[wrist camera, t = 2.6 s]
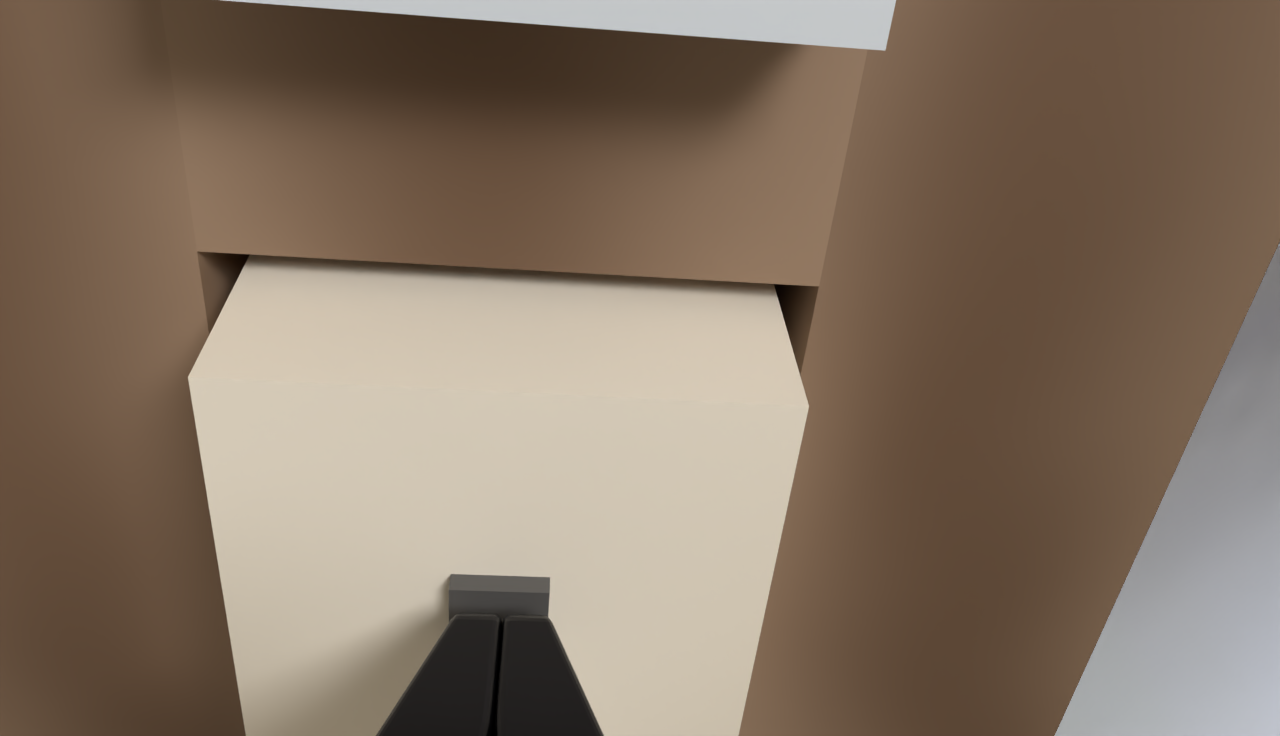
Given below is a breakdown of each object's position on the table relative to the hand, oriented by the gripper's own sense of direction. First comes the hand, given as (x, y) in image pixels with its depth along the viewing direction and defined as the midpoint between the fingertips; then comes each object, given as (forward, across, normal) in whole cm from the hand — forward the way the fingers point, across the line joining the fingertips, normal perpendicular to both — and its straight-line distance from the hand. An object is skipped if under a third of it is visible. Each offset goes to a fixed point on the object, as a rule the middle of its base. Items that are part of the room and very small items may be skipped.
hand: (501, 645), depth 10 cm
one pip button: (+3, 0, 0) cm, 3 cm away
